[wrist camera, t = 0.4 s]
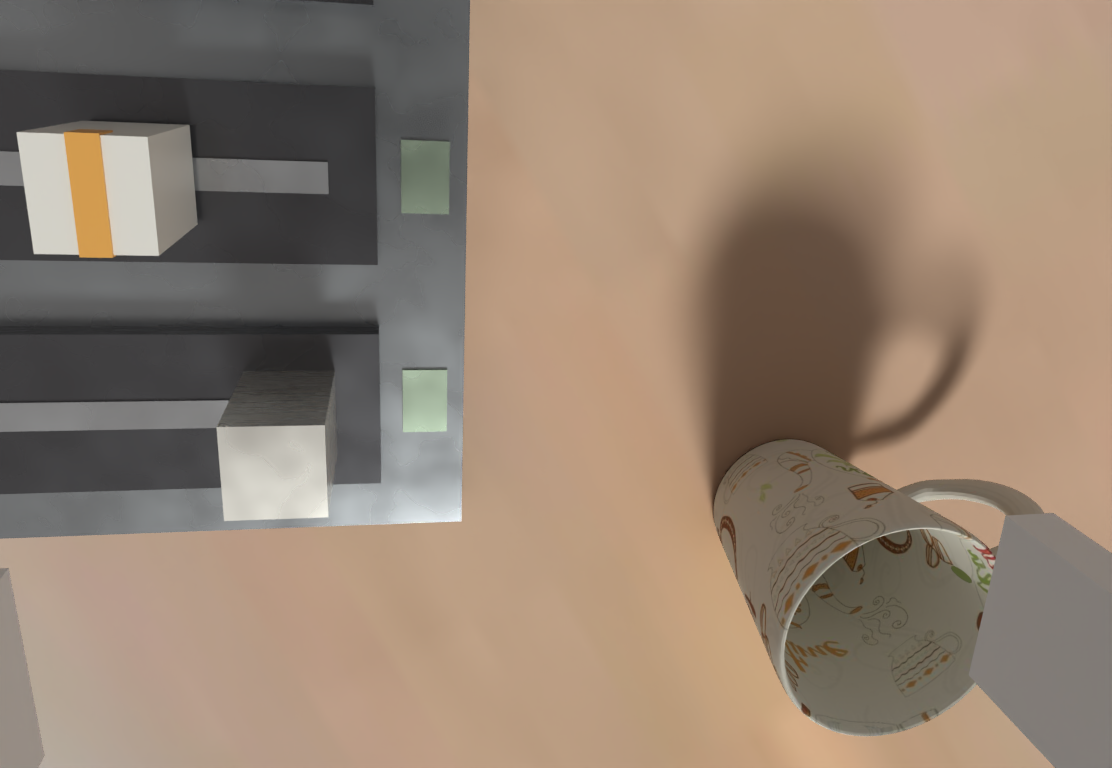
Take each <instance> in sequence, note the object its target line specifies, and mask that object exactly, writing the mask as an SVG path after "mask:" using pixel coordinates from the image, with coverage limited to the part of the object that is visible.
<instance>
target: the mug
mask: <svg viewBox="0 0 1112 768" xmlns="http://www.w3.org/2000/svg"><path fill="white" fill-rule="evenodd" d="M941 499H959V500H968V501H974V502H978V503H982V504H986V505H989V506H991V507H994V508H996V509H998V510H1000V511H1001V512H1003V513H1004V514H1005V515H1025V514H1044V512H1043V511H1042V509H1041V508H1040V507H1039V506H1038V504H1037V503H1036V502H1034V501H1033V500H1032V499H1031V498H1029V497H1028V496H1026V495H1025V494H1023V493H1021V492H1019V491H1017V490H1015V489H1013V488H1010V487H1008V486H1004V485H1001V484H998V483H994V482H989V481H982V480H969V479H949V480H926V481H921V482H917V483H914V484H911V485H908V486H905V487H902V488H900V489H898V490H896V489H894V488H892V487H890V486H889V485H887V484H885V483H883V482H881V481H880V480H878V479H876V478H874V477H873V476H871V475H869V474H867V473H866V472H864V471H862V470H860V469H859V468H857V467H855V466H853V465H851V464H850V463H848V462H846V461H844V460H843V459H841V458H839V457H837V456H836V455H834V454H832V453H830V452H829V451H827V450H825V449H823V448H821V447H819V446H817V445H815V444H812V443H809V442H806V441H802V440H794V439H785V440H777V441H772V442H769V443H766V444H763V445H760V446H758V447H756V448H754V449H753V450H751V451H749V452H748V453H746V454H745V455H743V456H742V457H741V458H740V459H739V460H737V461H736V462H735V463H734V464H733V465H732V467H731V468H730V469H729V470H728V472H727V473H726V475H725V476H724V477H723V479H722V481H721V483H720V485H719V487H718V490H717V493H716V496H715V501H714V522H715V526H716V530H717V533H718V536H719V538H720V541H721V543H722V546H723V548H724V550H725V553H726V555H727V558H728V560H729V562H730V565H731V567H732V569H733V572H734V574H735V577H736V579H737V581H738V584H739V586H740V588H741V591H742V593H743V595H744V598H745V600H746V603H747V605H748V607H749V610H750V612H751V614H752V617H753V619H754V622H755V624H756V626H757V629H758V631H759V633H760V636H761V638H762V641H763V643H764V645H765V648H766V650H767V652H768V655H769V657H770V660H771V662H772V664H773V667H774V669H775V671H776V674H777V676H778V678H779V680H780V682H781V684H782V686H783V688H784V690H785V691H786V693H787V694H788V696H789V697H790V699H791V700H792V702H793V703H794V704H795V705H796V707H797V708H798V709H799V710H800V711H801V712H802V713H803V714H804V715H806V716H807V717H808V718H809V719H811V720H812V721H814V722H815V723H817V724H818V725H820V726H822V727H824V728H826V729H829V730H832V731H835V732H838V733H842V734H846V735H854V736H879V735H887V734H892V733H897V732H901V731H904V730H907V729H910V728H913V727H916V726H918V725H921V724H923V723H925V722H928V721H929V720H931V719H933V718H935V717H937V716H939V715H940V714H942V713H943V712H945V711H946V710H948V709H949V708H951V707H952V706H953V705H955V704H956V703H957V702H959V701H960V700H961V699H962V698H963V697H964V696H966V695H967V694H968V693H969V692H970V691H971V690H972V689H973V688H974V687H975V686H976V685H977V684H976V683H975V682H974V680H973V679H972V678H971V677H970V676H969V671H970V667H971V662H972V658H973V654H974V649H975V645H976V641H977V637H978V632H979V628H980V624H981V619H982V615H983V611H984V607H985V602H986V598H987V594H988V589H989V585H990V581H991V577H992V572H993V568H994V564H995V560H996V555H997V551H998V547H999V546H996V547H994V548H991V549H989V548H988V547H987V546H986V545H985V544H984V543H983V542H981V541H980V540H979V539H978V538H977V537H975V536H974V535H973V534H971V533H970V532H968V531H967V530H965V529H964V528H962V527H960V526H959V525H957V524H956V523H954V522H952V521H950V520H949V519H947V518H945V517H943V516H941V515H940V514H938V513H936V512H934V511H933V510H931V509H929V508H927V507H926V506H924V505H922V504H920V503H919V502H924V501H931V500H941Z"/></svg>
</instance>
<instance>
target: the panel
mask: <svg viewBox="0 0 1112 768" xmlns="http://www.w3.org/2000/svg"><path fill="white" fill-rule="evenodd" d="M469 23H470V0H0V538H27V537H54V536H80V535H107V534H134V533H161V532H187V531H214V530H241V529H267V528H294V527H321V526H348V525H374V524H401V523H428V522H454V521H461V506H462V446H463V385H464V325H465V265H466V204H467V144H468V83H469ZM77 121H105V122H130V123H155V124H181V125H190V137H191V149H192V161H193V174H194V186H195V198H196V210H197V223H198V225H196V226H195V227H194V228H193V229H191V230H190V231H189V232H188V233H186V234H185V235H184V236H183V237H182V238H180V239H179V240H178V241H177V242H175V243H174V244H173V245H172V246H170V247H169V248H168V249H167V250H166V251H164V252H163V253H162V254H161V255H159V256H135V255H116V256H115V257H113V258H87V257H79V255H67V254H34V251H33V244H32V237H31V230H30V223H29V216H28V209H27V202H26V195H25V188H24V181H23V174H22V167H21V160H20V154H19V147H18V140H17V133H16V132H20V131H26V130H31V129H37V128H43V127H49V126H54V125H60V124H66V123H72V122H77Z"/></svg>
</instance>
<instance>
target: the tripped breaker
mask: <svg viewBox="0 0 1112 768" xmlns="http://www.w3.org/2000/svg"><path fill="white" fill-rule="evenodd" d="M16 133H17V140H18V147H19V154H20V160H21V167H22V174H23V181H24V188H25V195H26V202H27V209H28V216H29V223H30V230H31V237H32V244H33V251H34V254H67V255H79V257H87V258H113V257H115V256H116V255H135V256H159V255H161V254H162V253H163V252H164V251H166V250H167V249H168V248H169V247H170V246H172V245H173V244H174V243H175V242H177V241H178V240H179V239H180V238H182V237H183V236H184V235H185V234H186V233H188V232H189V231H190V230H191V229H193V228H194V227H195V226H196V225H198V223H197V210H196V198H195V186H194V174H193V161H192V149H191V137H190V125H181V124H155V123H130V122H105V121H77V122H72V123H66V124H60V125H54V126H49V127H43V128H37V129H31V130H26V131H20V132H16Z"/></svg>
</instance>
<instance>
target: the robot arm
mask: <svg viewBox="0 0 1112 768" xmlns="http://www.w3.org/2000/svg"><path fill="white" fill-rule="evenodd" d="M969 676H970V677H971V678H972V679H973V680H974V682H975V683H976V684H977V685H978V686H979V687H980V688H981V689H982V690H983V691H984V692H985V693H986V694H987V695H988V696H989V698H990V699H991V700H992V701H993V702H994V703H995V704H996V705H997V706H998V707H999V708H1000V709H1001V710H1002V711H1003V712H1004V714H1005V715H1006V716H1007V717H1008V718H1009V719H1010V720H1011V721H1012V722H1013V723H1014V724H1015V725H1016V726H1017V727H1018V729H1019V730H1020V731H1021V732H1022V733H1023V734H1024V735H1025V736H1026V737H1027V738H1028V739H1029V740H1030V741H1031V742H1032V743H1033V745H1034V746H1035V747H1036V748H1037V749H1038V750H1039V751H1040V752H1041V753H1042V754H1043V755H1044V756H1045V757H1046V758H1047V759H1048V761H1049V762H1050V763H1051V764H1052V765H1053V766H1054V767H1055V768H1112V553H1111V552H1109V551H1108V550H1106V549H1105V548H1103V547H1102V546H1100V545H1099V544H1097V543H1096V542H1095V541H1093V540H1092V539H1090V538H1089V537H1087V536H1086V535H1084V534H1083V533H1081V532H1080V531H1079V530H1077V529H1076V528H1074V527H1073V526H1071V525H1070V524H1068V523H1067V522H1065V521H1064V520H1063V519H1061V518H1060V517H1058V516H1057V515H1055V514H1054V513H1044V514H1025V515H1006V517H1005V521H1004V525H1003V530H1002V534H1001V538H1000V542H999V547H998V551H997V555H996V560H995V564H994V568H993V572H992V577H991V581H990V585H989V589H988V594H987V598H986V602H985V607H984V611H983V615H982V619H981V624H980V628H979V632H978V637H977V641H976V645H975V649H974V654H973V658H972V662H971V667H970V671H969ZM43 757H44V750H43V745H42V740H41V734H40V729H39V724H38V719H37V714H36V708H35V703H34V698H33V693H32V688H31V682H30V677H29V672H28V667H27V662H26V657H25V651H24V646H23V641H22V636H21V631H20V625H19V620H18V615H17V610H16V605H15V599H14V594H13V589H12V584H11V579H10V573H9V568H2V569H0V768H38V767H39V765H40V763H41V761H42V759H43Z"/></svg>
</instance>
